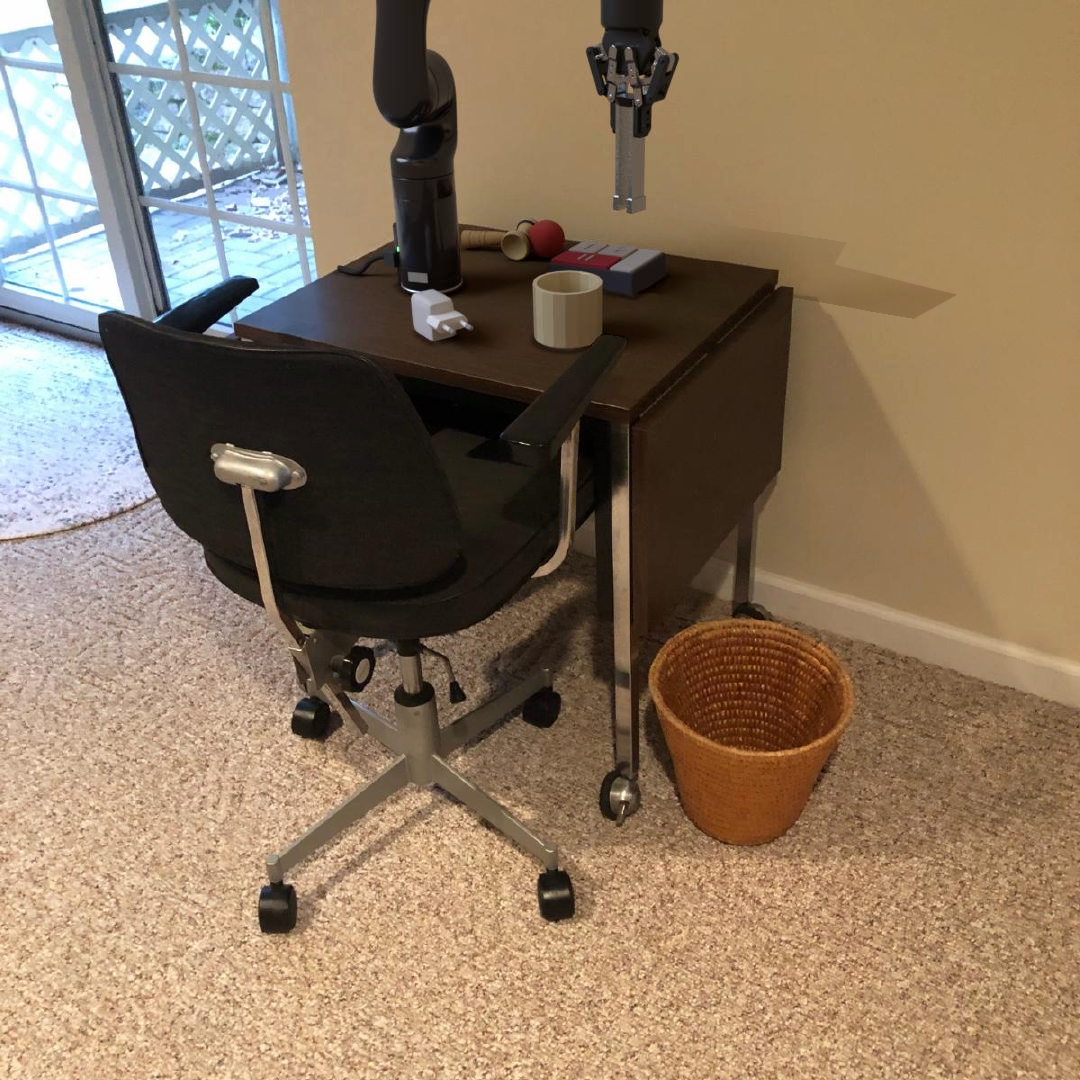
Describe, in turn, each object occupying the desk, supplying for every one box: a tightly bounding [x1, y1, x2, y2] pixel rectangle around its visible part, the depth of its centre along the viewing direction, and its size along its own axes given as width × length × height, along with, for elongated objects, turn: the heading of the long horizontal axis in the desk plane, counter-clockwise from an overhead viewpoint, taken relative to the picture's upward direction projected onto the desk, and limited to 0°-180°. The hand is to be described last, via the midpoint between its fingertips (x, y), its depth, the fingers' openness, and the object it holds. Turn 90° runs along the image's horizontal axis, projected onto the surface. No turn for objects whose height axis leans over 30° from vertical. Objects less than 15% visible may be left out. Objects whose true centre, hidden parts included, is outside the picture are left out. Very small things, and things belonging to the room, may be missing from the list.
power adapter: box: [410, 289, 474, 342], centre depth 145 cm, size 11×5×6 cm, turn 34°
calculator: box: [546, 241, 667, 296], centre depth 164 cm, size 11×4×15 cm
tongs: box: [612, 92, 647, 215], centre depth 138 cm, size 3×3×14 cm
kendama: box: [460, 217, 566, 261], centre depth 176 cm, size 8×6×18 cm
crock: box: [532, 270, 604, 349], centre depth 144 cm, size 9×9×8 cm
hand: (630, 134), depth 137 cm, fingers closed on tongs, 3 cm apart
